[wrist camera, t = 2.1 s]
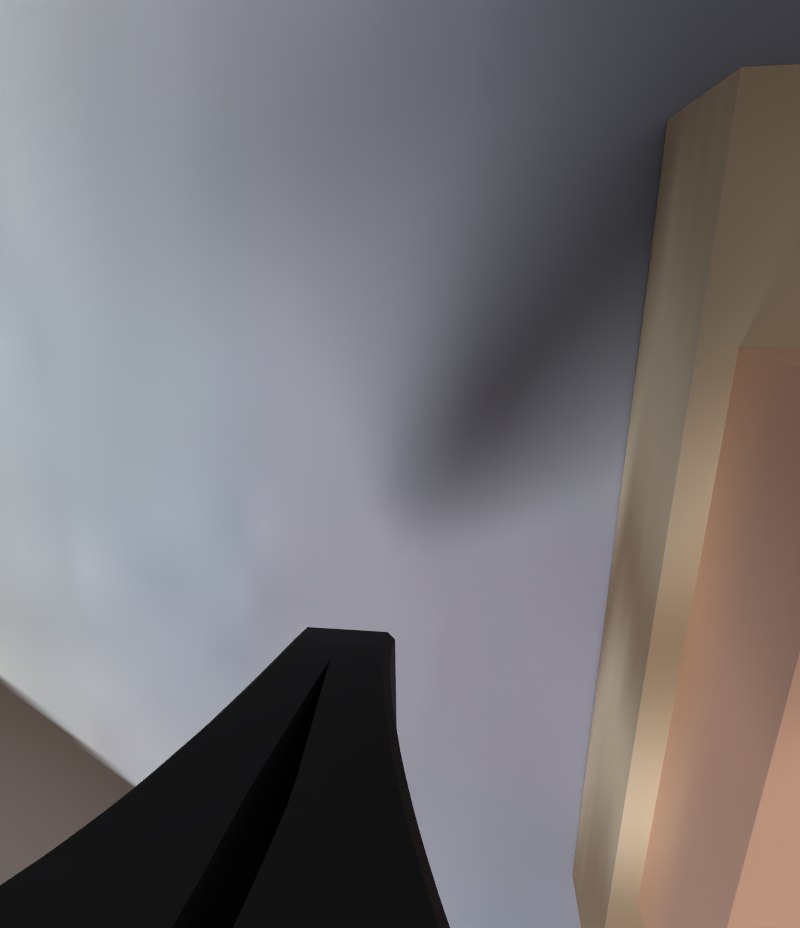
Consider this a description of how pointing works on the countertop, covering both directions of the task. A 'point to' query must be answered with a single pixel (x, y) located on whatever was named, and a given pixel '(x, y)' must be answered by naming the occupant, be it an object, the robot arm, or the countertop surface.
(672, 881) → the tile
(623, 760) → the board
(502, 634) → the countertop surface
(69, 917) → the robot arm
